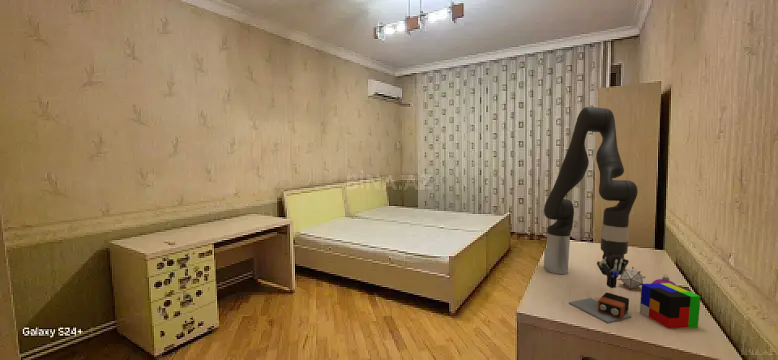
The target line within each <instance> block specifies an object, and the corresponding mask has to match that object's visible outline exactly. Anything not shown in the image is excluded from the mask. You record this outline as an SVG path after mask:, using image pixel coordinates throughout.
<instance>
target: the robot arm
mask: <svg viewBox="0 0 778 360" xmlns="http://www.w3.org/2000/svg"><path fill="white" fill-rule="evenodd" d="M588 132H591V133H592V132H595V133H600V135H601V137H602V138H601V139H602V141H601V143H600V144H599V145H600V146H599V147H598V149H597V152H596V157H595V160H596V165H597V167H598V171H599V185H598V195H599V196H600V197H601V199H603V200H604V201H607V202H608V201H609V202H611V201H613V202H618V203H617V204H616V205H614V206H610V207H606V208H605V209H603V220H602V228H601V236H600V237H601V239H600V250H601V251H602V252H603V254H602V257H601V258H602V259H601V261H596V265H597V267H598V269H599V270H600V273H602V275H604V276H606V286H607V287H608V288H610V289H615V288H616V287H617V282H618V281H617V280H618V278H619V276H621V275H622V273H623V271H624V270H625V269H626V268H627V266H628V264H629V262H630V261H629V260H628V259H626V258H625V255H626V254H628V251H629V249H628V248H629V237H630V236H629V235H630V233H629V231H630V230H629V224H630V223H629V220H630V214H631V211H632V208H633V207H634V206H633V205H634V203H635V201H636V199H637V196H638V193H639V191H638V190H639V189H638V186H637V185H636V183H635V182H634V181H633V180H632V181H631V180H627V179H626V180H624V179H623V180H622V179H621V180H618V179H616V178H620V177H621V176H623V175H624V173H625V168H624V165H623V162H622V159H621V156H620V152H619V150H618V149H619V148H618V142H617V141H618V140H617V130H616V122H615V116H614V113H613V111H612V110H611V109H610V108H604V107H596V106H595V107H594V106H593V107H592V106H585V107H583V108H582V109H581V110H580V111H579V113H578V115H577V118H576V121H575V125H574V128H573V133H572V136H571V140H570V143H569V146H568V148H567V152H566V154H565V157H564V159H563V162H562V163H561V166H560V170H559V173H558V175H557V178H556V180H555V183H554V184H553V188H552V189H551V191H550V192H549V195H548V197H547V199H546V201H545V203H544V208H543V214H544V216H545V217H546V218H547V219H549V220H552V221H553V220H555V222H554V223H552V224H551V225H548V227H547V231H546V246H545V248H544V253H543V268H544V269H545V271H546V272H549V273H552V274H557V275H564V274H565V275H567V274H568V273H569V264H570V263H569V260H570V240H571V233H572V230H573V225H574V217H575V216H574V215H575V208H574V204H573V202H572V201H571V200H570V199H567V198H566V196H567V194H568V193H570V191H572V190H573V189H574V188H575V187H576V186H577V185H578V184H580V182H581V181H582V180H583V178H584V177H585V175H586V173H587V170H588V168H589V163H590V162H589V156H588V154H587V149H586V147H585V146H586V144H585V143H586V142H585V141H586V137H587V134H588ZM614 179H615V180H614Z"/></svg>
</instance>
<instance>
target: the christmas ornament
mask: <svg viewBox="0 0 778 360" xmlns="http://www.w3.org/2000/svg"><path fill="white" fill-rule="evenodd" d="M656 283H670V284H672V285H675V286H677V287H679V286H678V285H677V284H676V283H675V282H674V281H671V280H670V277H669V276H666V274H664V275H663V276H662V278H657V279H655V280H653V281H652V283H651V284H656Z"/></svg>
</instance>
